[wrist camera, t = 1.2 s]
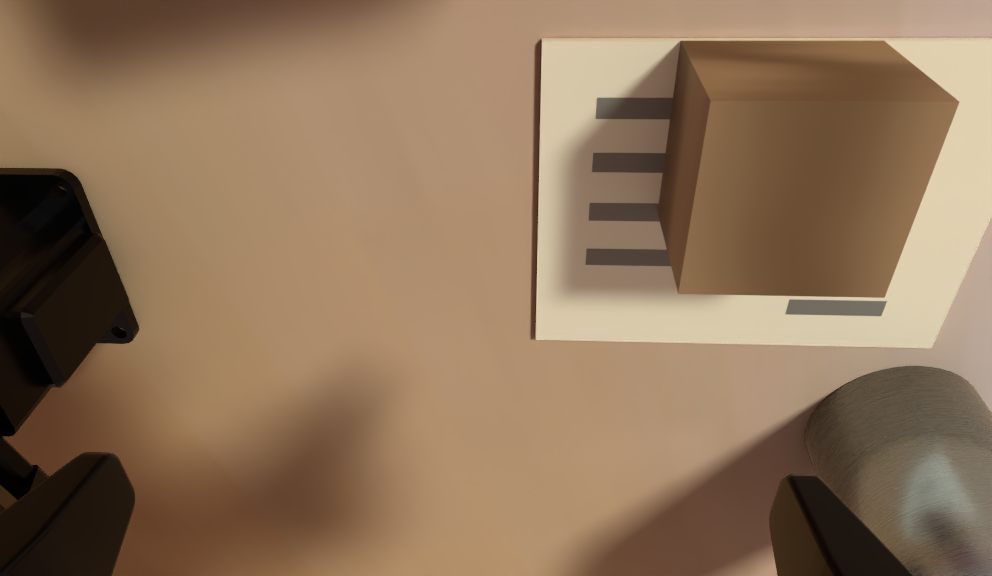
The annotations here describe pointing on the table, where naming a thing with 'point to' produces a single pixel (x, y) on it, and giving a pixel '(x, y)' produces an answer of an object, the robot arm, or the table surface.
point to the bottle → (912, 465)
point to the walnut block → (796, 166)
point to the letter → (638, 234)
